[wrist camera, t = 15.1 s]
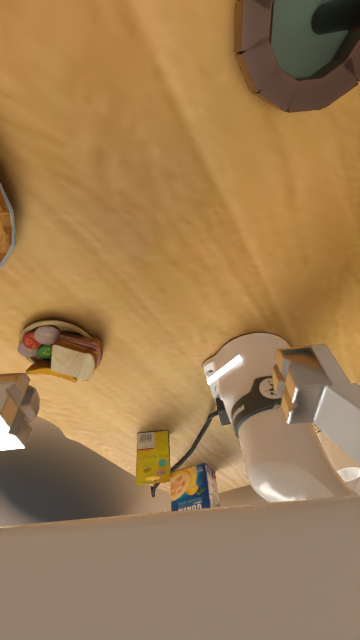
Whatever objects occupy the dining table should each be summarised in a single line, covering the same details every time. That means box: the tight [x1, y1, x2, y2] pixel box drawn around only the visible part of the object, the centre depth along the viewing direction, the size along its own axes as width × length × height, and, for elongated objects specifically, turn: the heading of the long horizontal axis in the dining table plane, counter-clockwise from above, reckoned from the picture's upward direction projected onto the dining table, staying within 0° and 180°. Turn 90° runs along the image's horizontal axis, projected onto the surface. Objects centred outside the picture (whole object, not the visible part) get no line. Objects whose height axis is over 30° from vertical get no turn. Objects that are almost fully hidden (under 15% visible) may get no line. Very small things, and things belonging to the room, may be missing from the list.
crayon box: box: [136, 430, 171, 485], centre depth 69 cm, size 7×3×12 cm, turn 95°
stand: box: [269, 0, 360, 78], centre depth 23 cm, size 9×9×14 cm
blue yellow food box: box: [170, 463, 220, 511], centre depth 79 cm, size 7×11×22 cm, turn 117°
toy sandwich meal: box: [18, 320, 103, 382], centre depth 51 cm, size 12×14×5 cm
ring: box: [234, 0, 360, 113], centre depth 26 cm, size 13×13×3 cm
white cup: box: [317, 431, 360, 482], centre depth 74 cm, size 8×8×10 cm
